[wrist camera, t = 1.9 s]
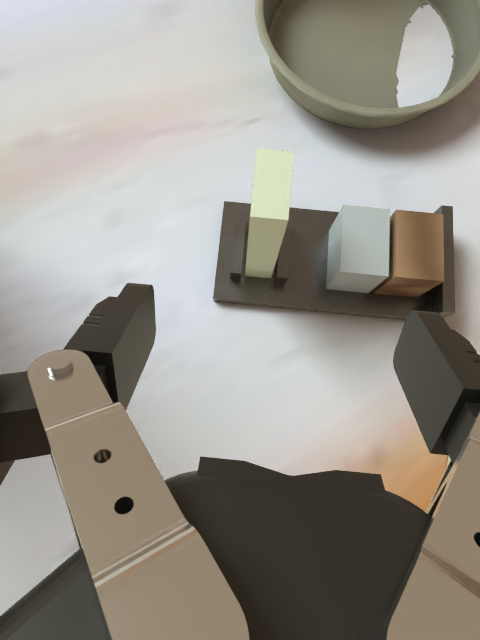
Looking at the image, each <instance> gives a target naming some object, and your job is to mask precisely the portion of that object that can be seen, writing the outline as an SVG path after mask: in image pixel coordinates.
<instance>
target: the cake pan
mask: <svg viewBox="0 0 480 640" xmlns="http://www.w3.org/2000/svg"><path fill="white" fill-rule="evenodd" d="M428 4H430V5H431V6H432V8H433V9H434V10H435V11H436V12H437V13H438V14H439V16H440V17H441V19H442V20H443V22H444V24H445V25H446V27H447V30H448V32H449V35H450V39H451V42H452V47H453V55H452V58H453V67H452V72H451V75H450V78H449V81H448V83H447V85H446V87H445V89H444V90H443V92H442V93H441V94H440V96H439V97H437V98H435V99H432V100H430V101H427V102H424V103H421V104H417V105H413V106H408V107H402V108H398V103H397V97H396V95H397V93H398V91H397V88H396V87H397V84H398V82H399V81H398V78H397V75H396V71H397V65H398V60H399V55H400V50H401V45H402V41H403V36H404V31H405V27H406V26H407V24H409V23H411V21H410V20H409V19H410V17H411V16H412V15H413V14H414V12H415V11H416V10H417V8H418V7H422V6H424V5H428ZM255 5H256V8H255V15H256V23H257V28H258V32H259V36H260V39H261V41H262V44H263V46H264V48H265V50H266V52H267V54H268V56H269V59H270V63H271V66H272V69H273V71H274V74H275V75H276V77H277V79H278V81H279V83H280V84H281V86H282V87H283V89H284V90H285V91H286V92H287V93H288V94H289V96H290V97H291V98H292V99H293V100H295V101H296V102H297V103H298V104H299V105H300V106H302V107H303V108H304V109H306V110H307V111H309V112H311V113H312V114H314V115H316V116H318V117H320V118H322V119H324V120H327V121H329V122H332V123H335V124H338V125H342V126H347V127H353V128H362V129H377V128H386V127H391V126H396V125H399V124H402V123H405V122H408V121H410V120H412V119H414V118H416V117H418V116H420V115H422V114H423V113H425V112H426V111H428V110H431V109H433V108H435V107H438V106H440V105H442V104H444V103H446V102H448V101H449V100H451V99H453V98H454V97H456V96H457V95H459V94H460V93H461V92H462V91H464V90H465V89H466V88H467V87H468V86H469V85H470V84H471V83H472V82H473V80H474V79H475V78H476V77H477V75H478V74H479V72H480V0H256V3H255ZM422 8H423V7H422Z"/></svg>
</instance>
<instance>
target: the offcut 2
mask: <svg viewBox="0 0 480 640" xmlns="http://www.w3.org/2000/svg"><path fill="white" fill-rule="evenodd" d="M442 282H444V234H443V214H435V213H425V212H414V211H404V210H396V211H395V212H394V213H393V214H392V216H391V217H390V237H389V277H387V278H386V279H385V280H384V281H383V282H381V283H380V284H379V285H378V286H376V287H375V288H374V294H384V295H395V296H405V297H415V298H416V297H418V296H420V295H422V294H423V293H425V292H427V291H428V290H430V289H432V288H434V287H435V286H437V285H439V284H441V283H442Z"/></svg>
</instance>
